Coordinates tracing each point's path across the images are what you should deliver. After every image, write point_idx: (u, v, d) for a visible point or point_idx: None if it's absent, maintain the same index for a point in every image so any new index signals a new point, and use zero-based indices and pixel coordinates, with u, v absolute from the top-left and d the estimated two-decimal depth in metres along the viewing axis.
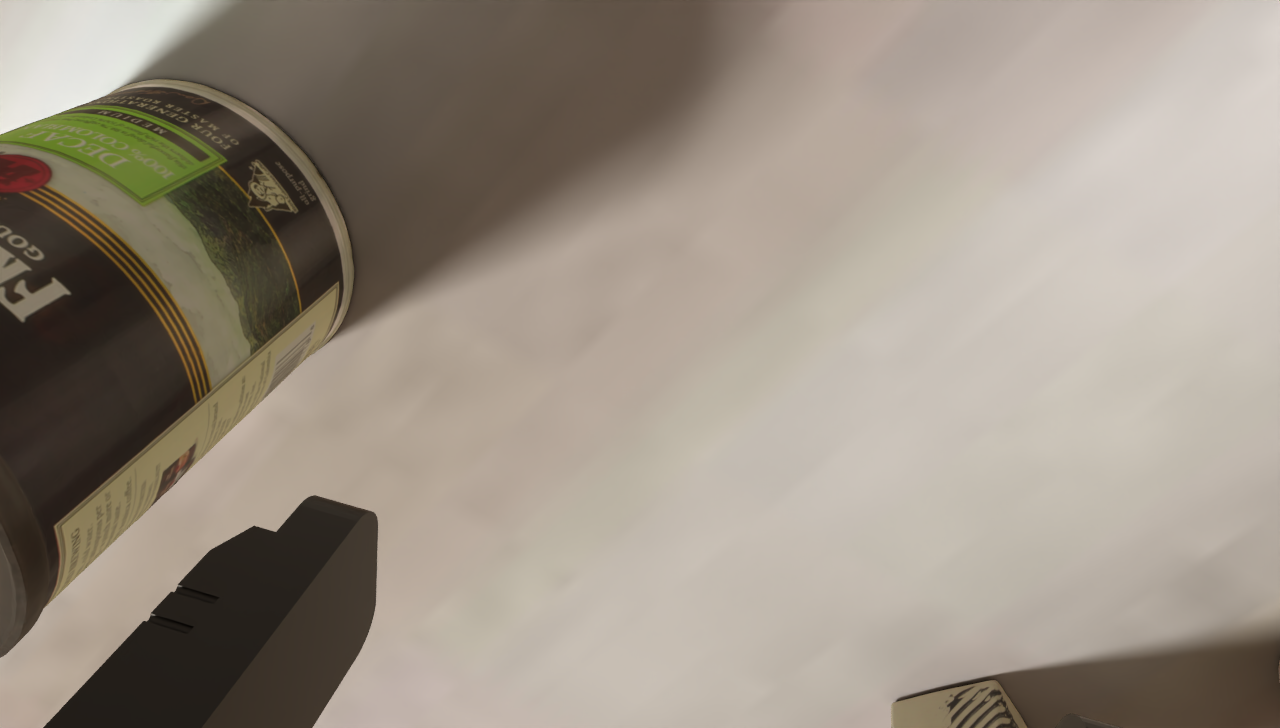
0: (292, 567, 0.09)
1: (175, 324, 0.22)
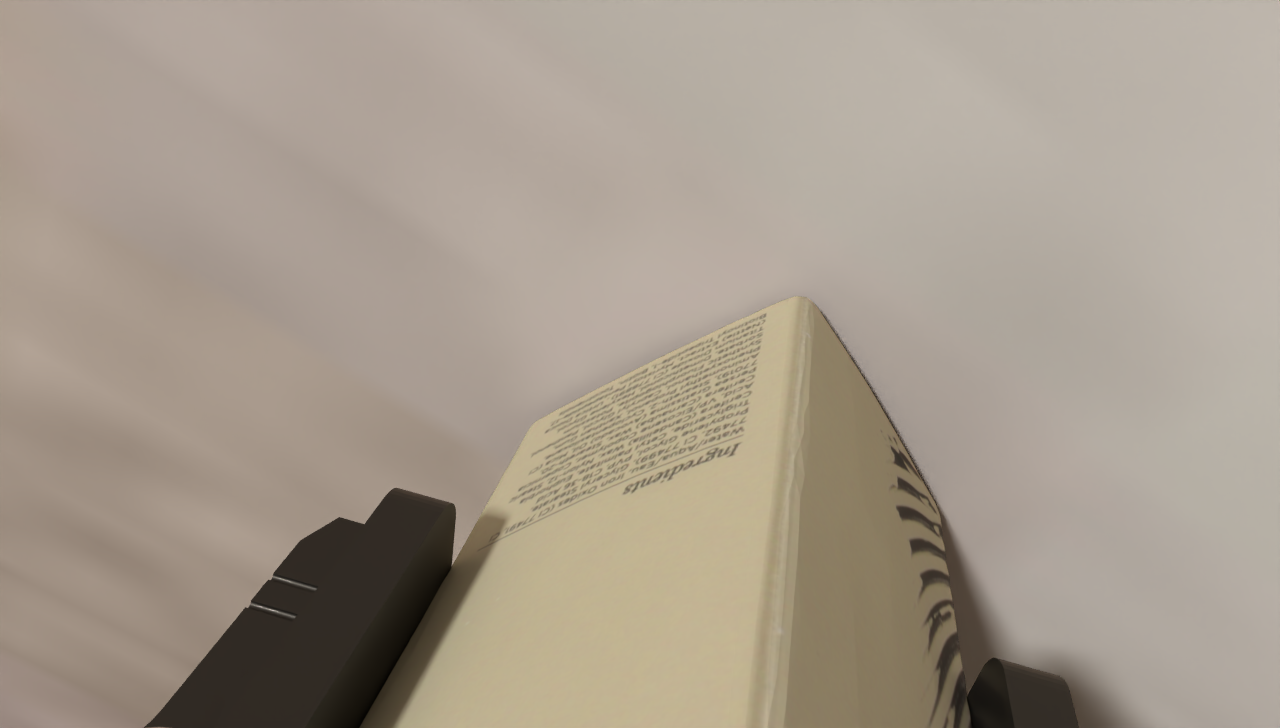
0: (384, 556, 0.09)
1: None
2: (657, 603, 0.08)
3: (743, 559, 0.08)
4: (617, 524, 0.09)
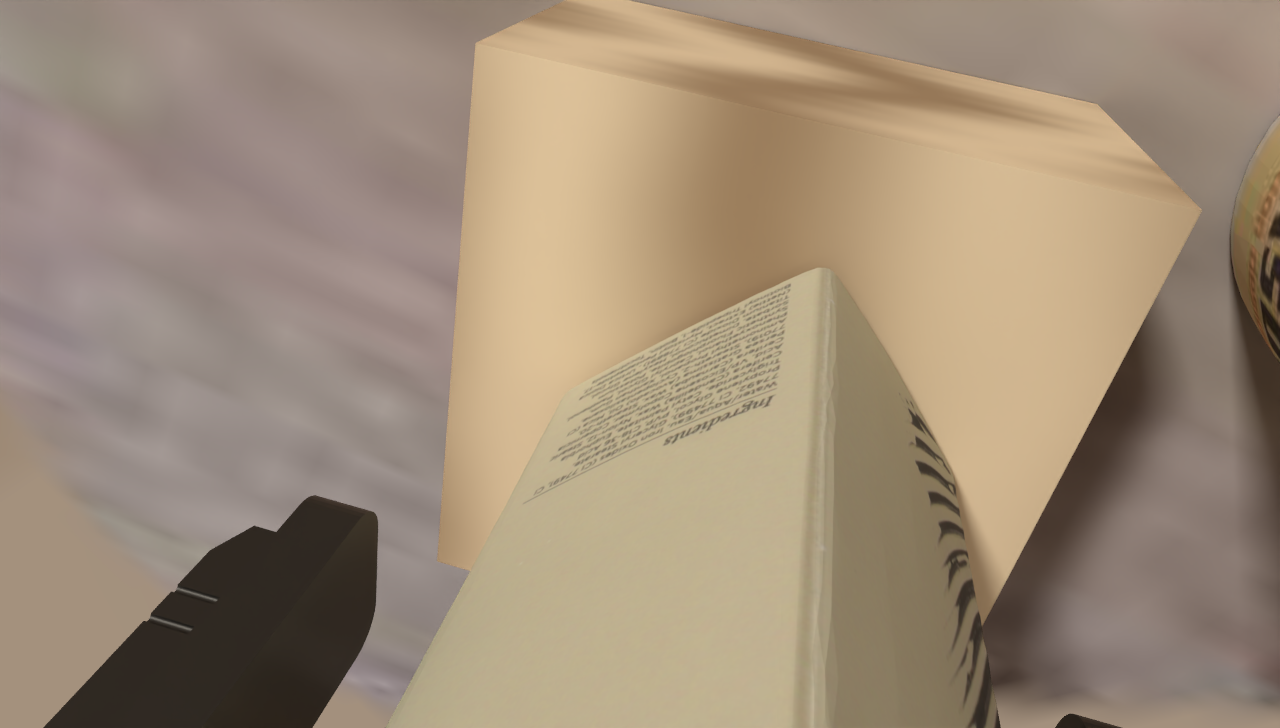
0: (292, 567, 0.09)
1: None
2: (706, 532, 0.08)
3: (784, 490, 0.08)
4: (661, 471, 0.10)
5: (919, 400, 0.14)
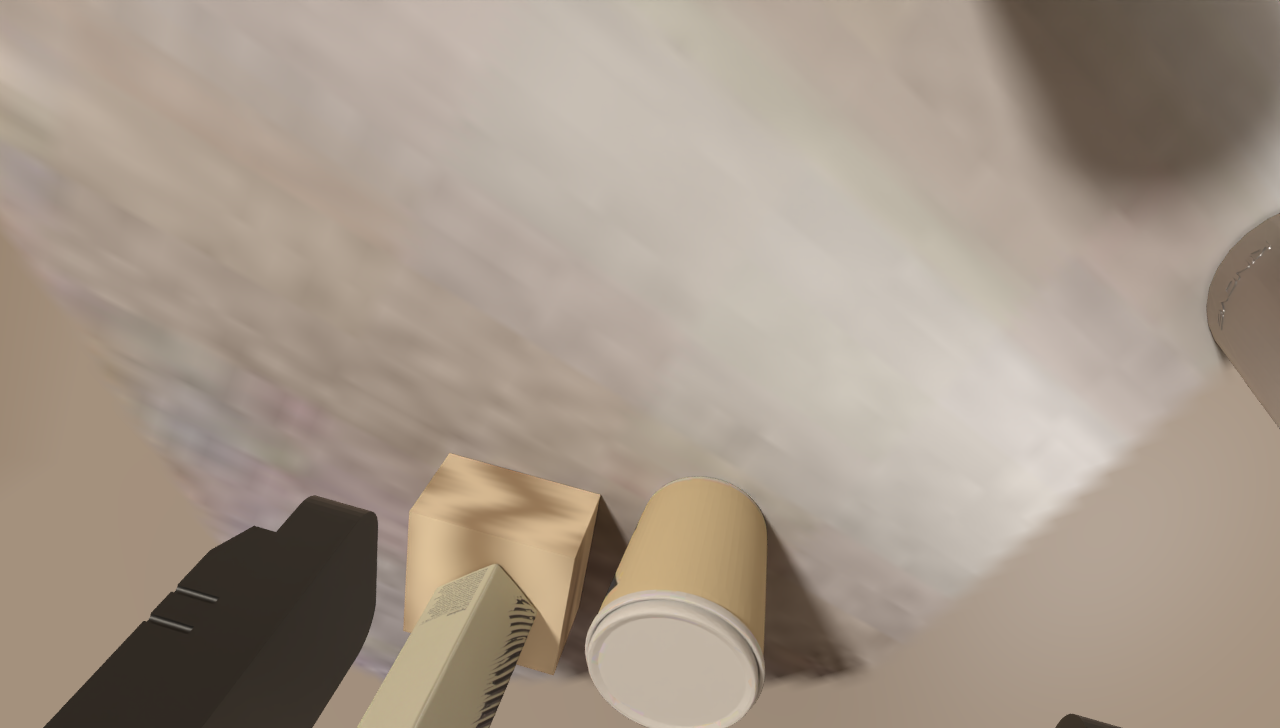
0: (292, 567, 0.09)
1: None
2: (444, 638, 0.48)
3: (457, 631, 0.48)
4: (443, 623, 0.49)
5: (526, 593, 0.53)
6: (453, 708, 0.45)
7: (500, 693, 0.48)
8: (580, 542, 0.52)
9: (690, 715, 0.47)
